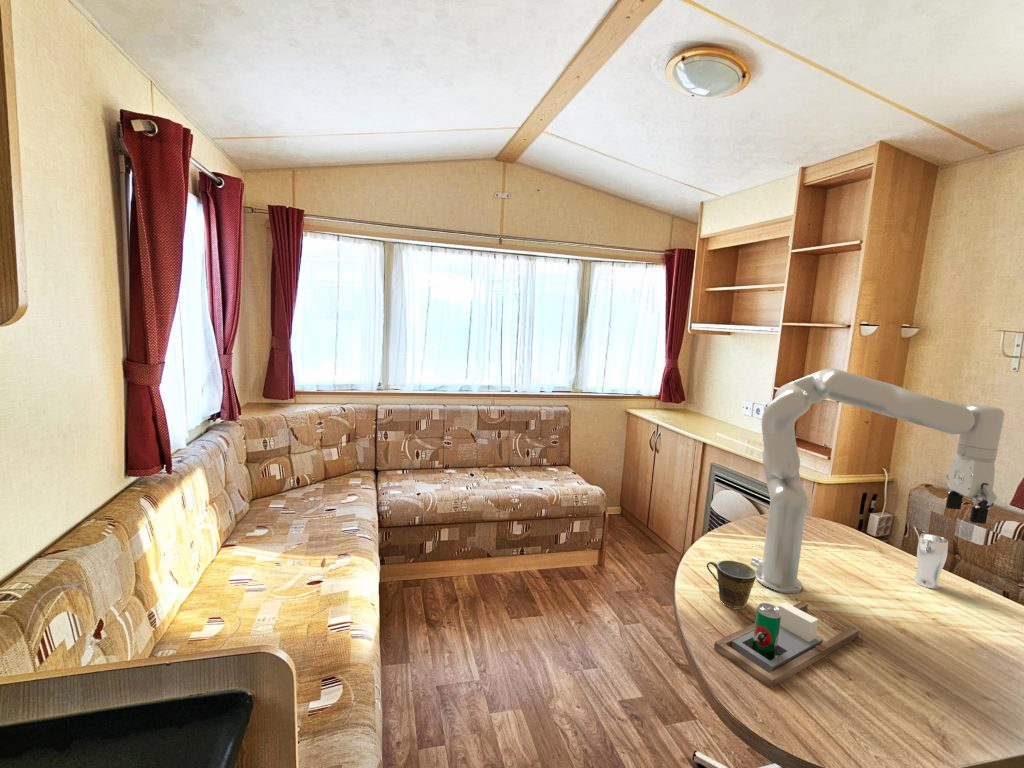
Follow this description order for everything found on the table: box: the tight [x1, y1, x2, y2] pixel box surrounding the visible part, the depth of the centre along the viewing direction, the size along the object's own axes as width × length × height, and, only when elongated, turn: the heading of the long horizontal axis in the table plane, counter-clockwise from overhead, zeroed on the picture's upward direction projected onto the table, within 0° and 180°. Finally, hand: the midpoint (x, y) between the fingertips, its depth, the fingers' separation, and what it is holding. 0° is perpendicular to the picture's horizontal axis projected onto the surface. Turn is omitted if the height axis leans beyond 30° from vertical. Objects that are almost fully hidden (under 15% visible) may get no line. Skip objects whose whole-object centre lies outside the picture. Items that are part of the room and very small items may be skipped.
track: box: [713, 601, 860, 688], centre depth 120 cm, size 14×38×2 cm, turn 121°
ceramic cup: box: [706, 559, 756, 610], centre depth 137 cm, size 13×10×10 cm
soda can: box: [751, 602, 781, 661], centre depth 115 cm, size 5×5×12 cm
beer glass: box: [913, 533, 949, 590], centre depth 151 cm, size 7×7×15 cm
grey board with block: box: [731, 601, 824, 673], centre depth 118 cm, size 10×21×7 cm, turn 121°
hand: (964, 515), depth 130 cm, fingers open, 9 cm apart
